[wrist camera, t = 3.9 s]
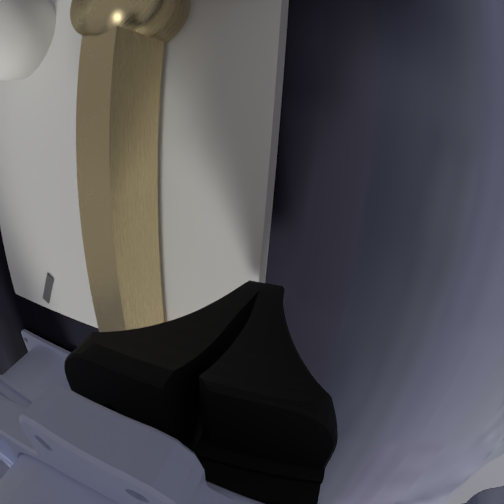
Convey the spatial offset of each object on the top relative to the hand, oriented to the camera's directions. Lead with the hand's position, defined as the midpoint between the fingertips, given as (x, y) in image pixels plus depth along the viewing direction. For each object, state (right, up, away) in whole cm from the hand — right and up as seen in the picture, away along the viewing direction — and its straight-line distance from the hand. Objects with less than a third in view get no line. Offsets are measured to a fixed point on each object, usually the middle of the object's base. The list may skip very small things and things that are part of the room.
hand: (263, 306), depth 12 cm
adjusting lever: (-5, +5, 0) cm, 7 cm away
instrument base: (-8, +7, +2) cm, 11 cm away
